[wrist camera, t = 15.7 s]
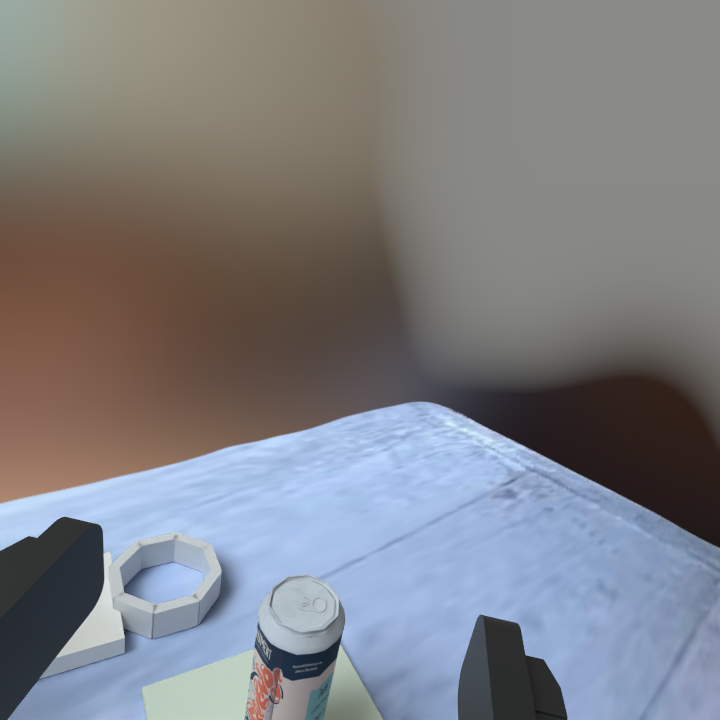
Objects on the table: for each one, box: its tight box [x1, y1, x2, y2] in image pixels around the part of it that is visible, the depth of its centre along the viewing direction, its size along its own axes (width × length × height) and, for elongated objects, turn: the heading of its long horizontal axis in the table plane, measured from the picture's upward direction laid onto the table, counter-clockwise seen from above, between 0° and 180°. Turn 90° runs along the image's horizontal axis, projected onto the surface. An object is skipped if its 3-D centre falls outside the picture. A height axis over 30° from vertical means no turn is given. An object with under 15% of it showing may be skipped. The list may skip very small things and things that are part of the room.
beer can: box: [244, 575, 345, 720], centre depth 30 cm, size 5×5×12 cm
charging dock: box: [39, 532, 222, 679], centre depth 38 cm, size 22×9×2 cm, turn 120°
